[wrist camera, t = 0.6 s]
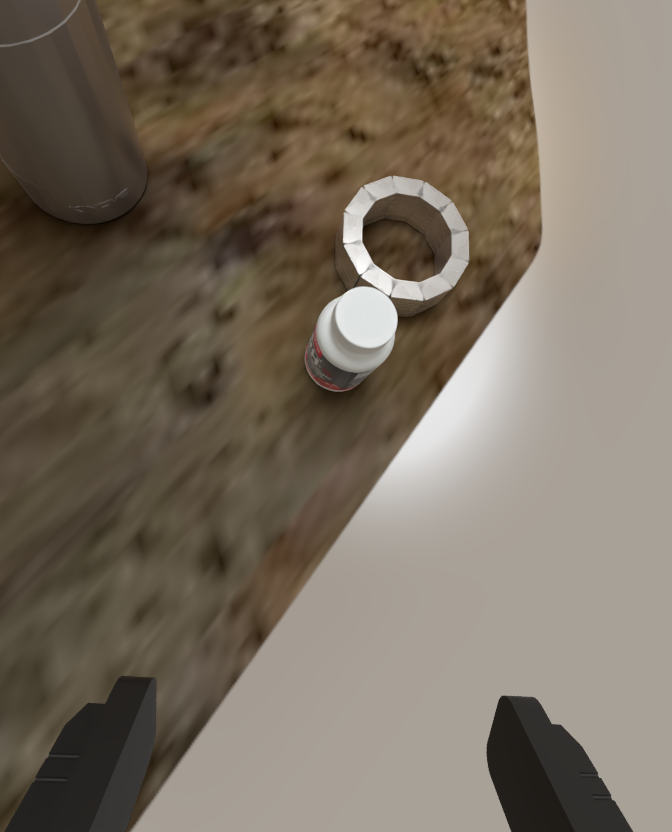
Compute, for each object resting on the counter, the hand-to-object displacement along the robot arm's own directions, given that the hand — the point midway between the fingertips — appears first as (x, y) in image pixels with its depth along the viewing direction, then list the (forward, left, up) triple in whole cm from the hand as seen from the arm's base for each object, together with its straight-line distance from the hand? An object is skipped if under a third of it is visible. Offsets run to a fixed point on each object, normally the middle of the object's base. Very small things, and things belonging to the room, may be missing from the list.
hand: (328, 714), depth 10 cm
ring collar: (-17, +21, -23) cm, 36 cm away
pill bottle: (-11, +12, -24) cm, 29 cm away
